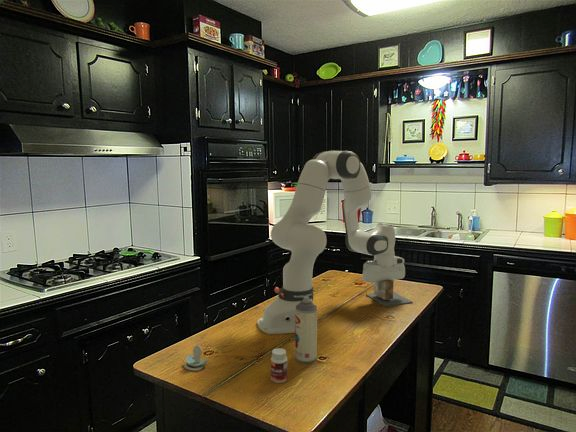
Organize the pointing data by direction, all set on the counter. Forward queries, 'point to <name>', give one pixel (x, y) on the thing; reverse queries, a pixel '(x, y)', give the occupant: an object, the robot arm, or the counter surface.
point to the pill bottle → (279, 365)
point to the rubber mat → (390, 300)
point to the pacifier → (197, 362)
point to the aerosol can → (306, 331)
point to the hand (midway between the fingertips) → (383, 289)
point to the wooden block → (385, 289)
